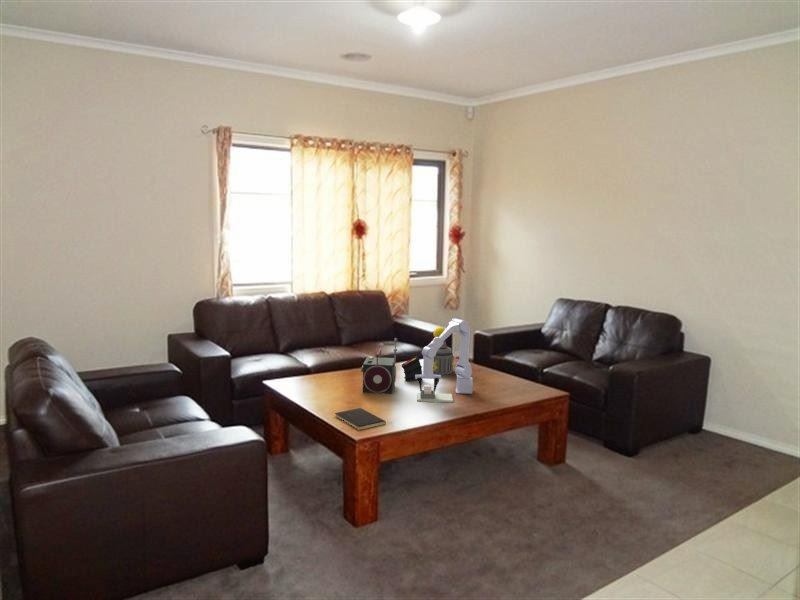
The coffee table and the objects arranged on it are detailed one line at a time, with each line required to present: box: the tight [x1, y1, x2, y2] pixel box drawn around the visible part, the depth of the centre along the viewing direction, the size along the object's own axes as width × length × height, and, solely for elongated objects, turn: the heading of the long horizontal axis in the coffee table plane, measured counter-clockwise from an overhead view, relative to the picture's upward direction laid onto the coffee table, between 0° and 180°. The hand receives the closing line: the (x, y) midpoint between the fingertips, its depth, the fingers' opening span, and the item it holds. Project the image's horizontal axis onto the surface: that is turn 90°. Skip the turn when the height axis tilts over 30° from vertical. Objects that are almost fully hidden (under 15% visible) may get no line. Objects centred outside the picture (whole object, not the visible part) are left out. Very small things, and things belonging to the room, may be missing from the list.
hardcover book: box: [334, 407, 387, 431], centre depth 300 cm, size 16×23×2 cm
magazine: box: [401, 356, 423, 383], centre depth 370 cm, size 4×13×15 cm, turn 110°
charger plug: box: [423, 384, 433, 394], centre depth 337 cm, size 4×4×6 cm
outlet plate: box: [416, 389, 454, 403], centre depth 337 cm, size 20×12×4 cm, turn 89°
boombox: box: [360, 337, 398, 395], centre depth 350 cm, size 18×21×30 cm
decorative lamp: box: [433, 326, 455, 376], centre depth 391 cm, size 19×19×30 cm
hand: (427, 391), depth 336 cm, fingers open, 7 cm apart
